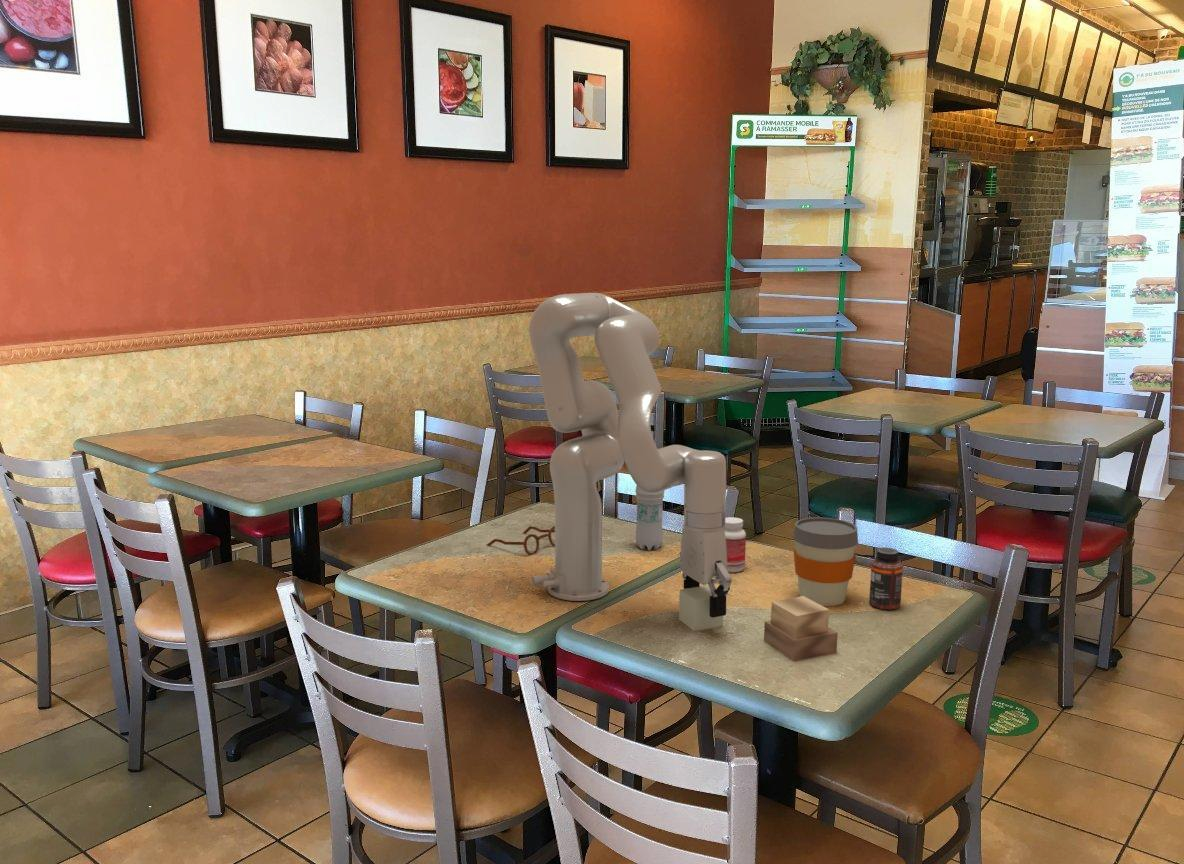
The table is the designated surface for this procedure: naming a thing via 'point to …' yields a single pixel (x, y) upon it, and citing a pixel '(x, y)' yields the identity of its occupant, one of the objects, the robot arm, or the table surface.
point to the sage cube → (697, 609)
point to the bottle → (649, 519)
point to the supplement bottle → (886, 579)
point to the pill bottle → (735, 544)
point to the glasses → (528, 538)
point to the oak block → (799, 616)
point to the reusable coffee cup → (824, 558)
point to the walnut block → (800, 642)
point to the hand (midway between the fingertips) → (704, 607)
